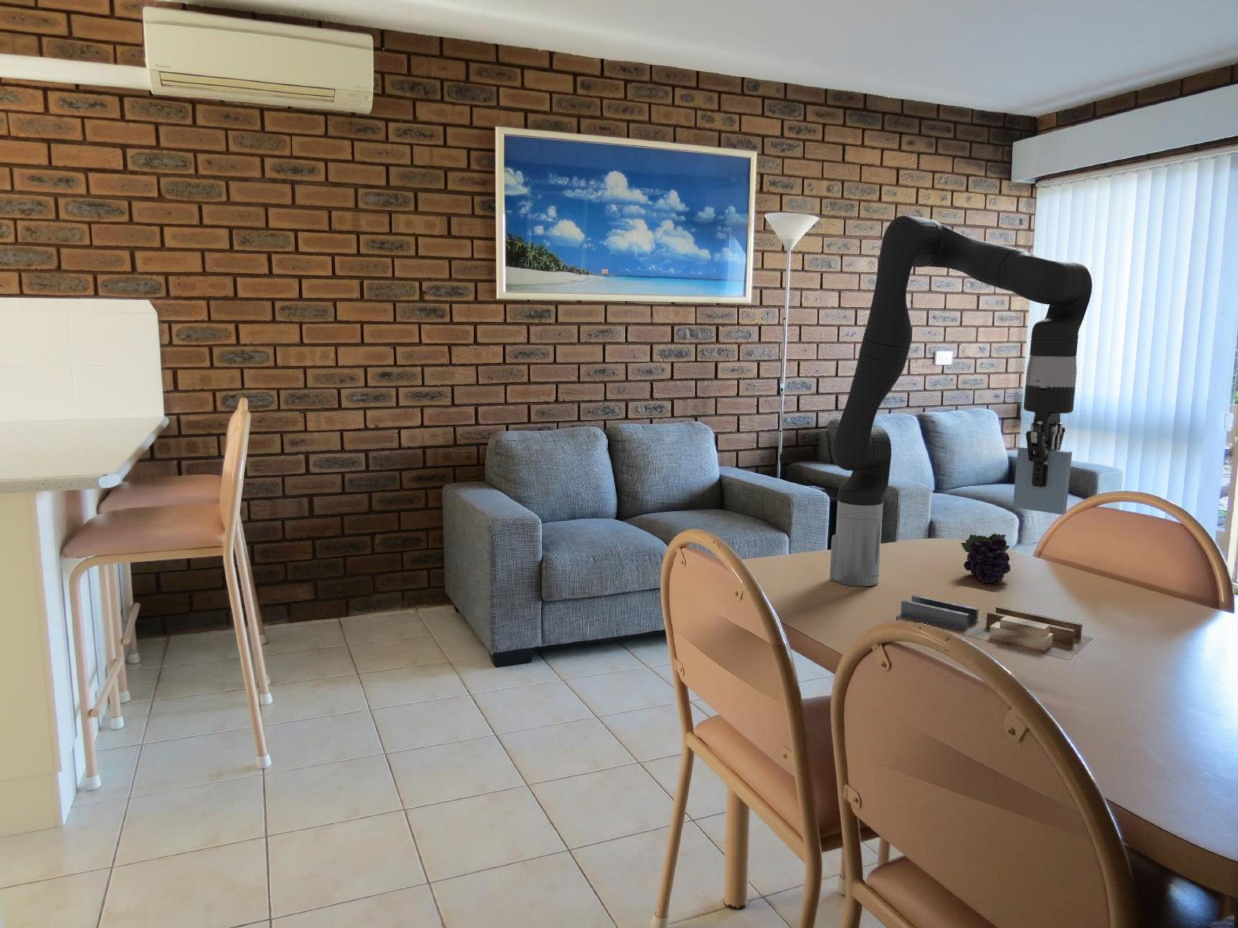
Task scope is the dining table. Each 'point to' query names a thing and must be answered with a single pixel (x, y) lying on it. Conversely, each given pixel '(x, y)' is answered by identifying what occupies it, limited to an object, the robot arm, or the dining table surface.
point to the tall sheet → (1050, 495)
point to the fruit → (987, 557)
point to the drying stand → (939, 613)
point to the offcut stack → (1022, 632)
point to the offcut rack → (1063, 631)
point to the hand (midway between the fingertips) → (1041, 485)
